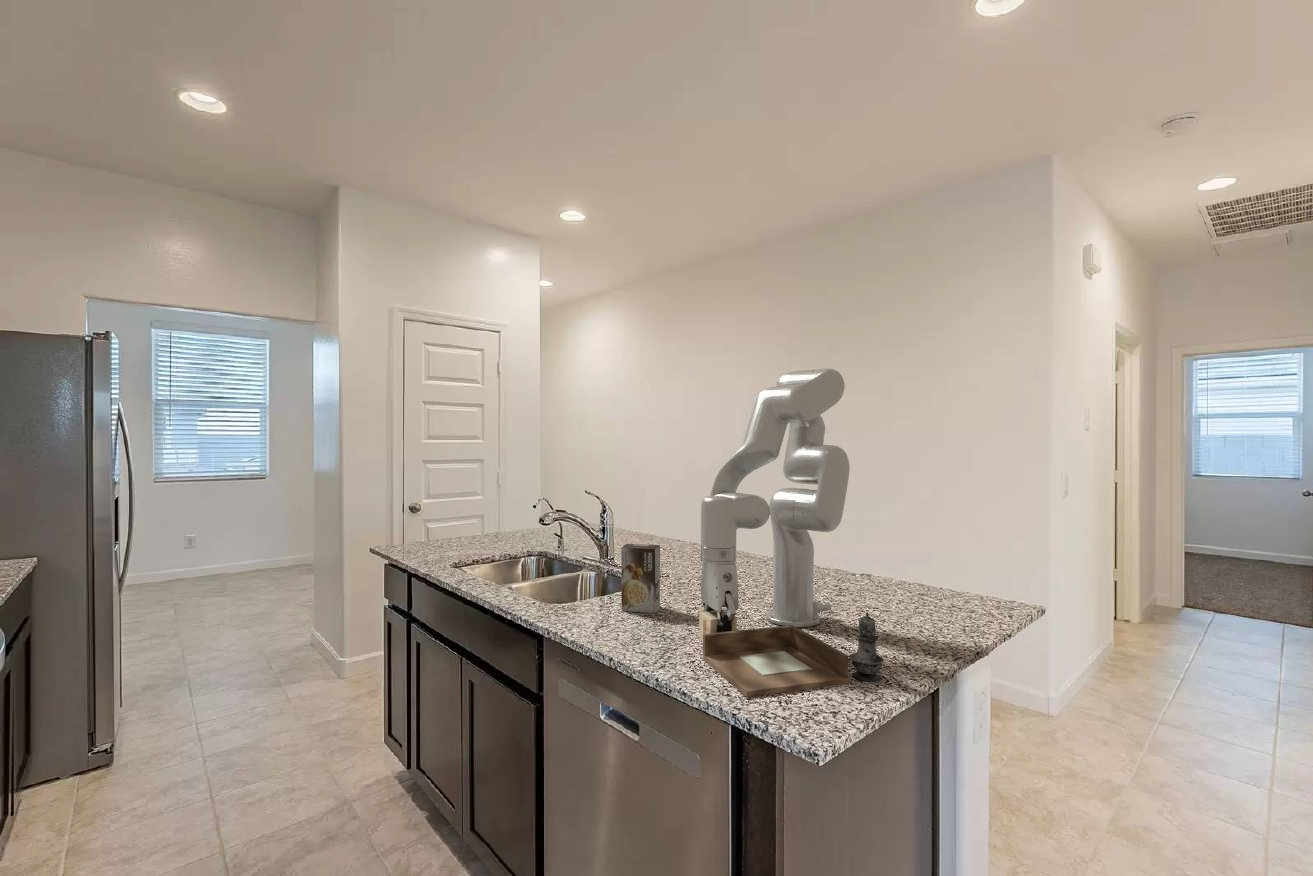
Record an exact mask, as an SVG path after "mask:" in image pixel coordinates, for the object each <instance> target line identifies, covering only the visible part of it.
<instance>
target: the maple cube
mask: <svg viewBox="0 0 1313 876" xmlns="http://www.w3.org/2000/svg"><path fill="white" fill-rule="evenodd" d="M726 614H727V613H722V619H723V617H724V615H726ZM698 615H699V619H698V621H699V622H698V623H699V624H698V626H699V628H698V629H699V631H698V633H699V634H698V635H699V636H698V638H699V641H700V642H701V641H702V642H701V643H703V634H708V633H717V625H719V623H718V616H717V611H705V612H704V611H699V614H698ZM732 631H738V617H737V616H736V615H735V617H734V619H733V625H732Z"/></svg>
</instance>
